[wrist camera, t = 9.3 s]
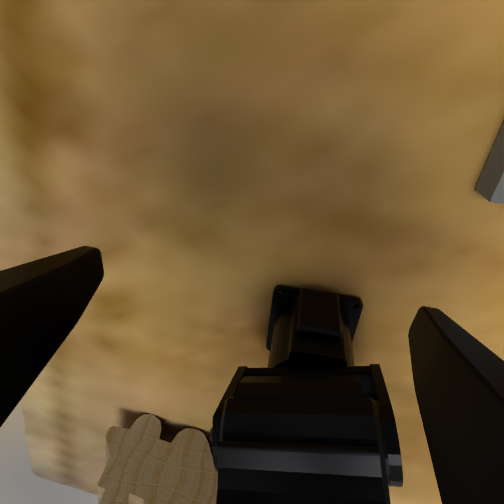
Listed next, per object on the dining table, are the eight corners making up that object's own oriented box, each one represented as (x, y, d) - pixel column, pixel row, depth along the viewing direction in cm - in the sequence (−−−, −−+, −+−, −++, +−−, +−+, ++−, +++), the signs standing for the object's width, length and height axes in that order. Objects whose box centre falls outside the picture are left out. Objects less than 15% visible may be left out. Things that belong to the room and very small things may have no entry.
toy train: (122, 404, 36) (63, 511, 28) (272, 449, 36) (259, 571, 27) (121, 432, 39) (67, 536, 31) (260, 474, 39) (245, 591, 30)
